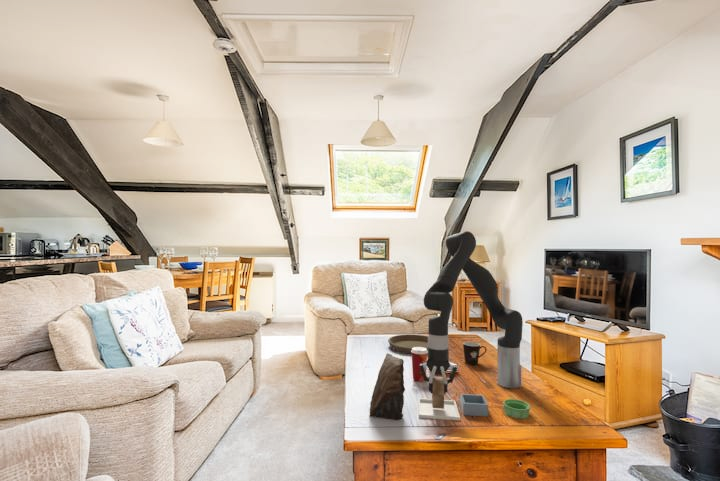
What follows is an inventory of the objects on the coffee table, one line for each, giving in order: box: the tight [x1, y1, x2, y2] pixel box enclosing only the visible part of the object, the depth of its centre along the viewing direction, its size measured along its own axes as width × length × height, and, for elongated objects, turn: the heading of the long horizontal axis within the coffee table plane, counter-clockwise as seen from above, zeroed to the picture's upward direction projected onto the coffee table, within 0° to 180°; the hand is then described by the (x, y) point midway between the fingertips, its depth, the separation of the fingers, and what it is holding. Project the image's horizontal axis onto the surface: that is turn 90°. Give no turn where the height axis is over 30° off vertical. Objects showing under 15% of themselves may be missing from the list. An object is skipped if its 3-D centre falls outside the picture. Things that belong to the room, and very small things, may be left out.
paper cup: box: [411, 347, 428, 383], centre depth 168 cm, size 8×8×14 cm
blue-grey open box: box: [459, 393, 489, 417], centre depth 135 cm, size 9×9×5 cm
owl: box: [369, 353, 406, 421], centre depth 134 cm, size 13×13×20 cm
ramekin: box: [503, 398, 531, 419], centre depth 133 cm, size 9×9×4 cm
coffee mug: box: [462, 341, 487, 366], centre depth 192 cm, size 12×9×10 cm
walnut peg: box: [431, 375, 445, 409], centre depth 135 cm, size 4×4×10 cm
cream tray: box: [417, 397, 461, 421], centre depth 134 cm, size 14×14×2 cm
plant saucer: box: [388, 334, 428, 355], centre depth 221 cm, size 31×31×5 cm
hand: (437, 392), depth 135 cm, fingers closed on walnut peg, 4 cm apart
